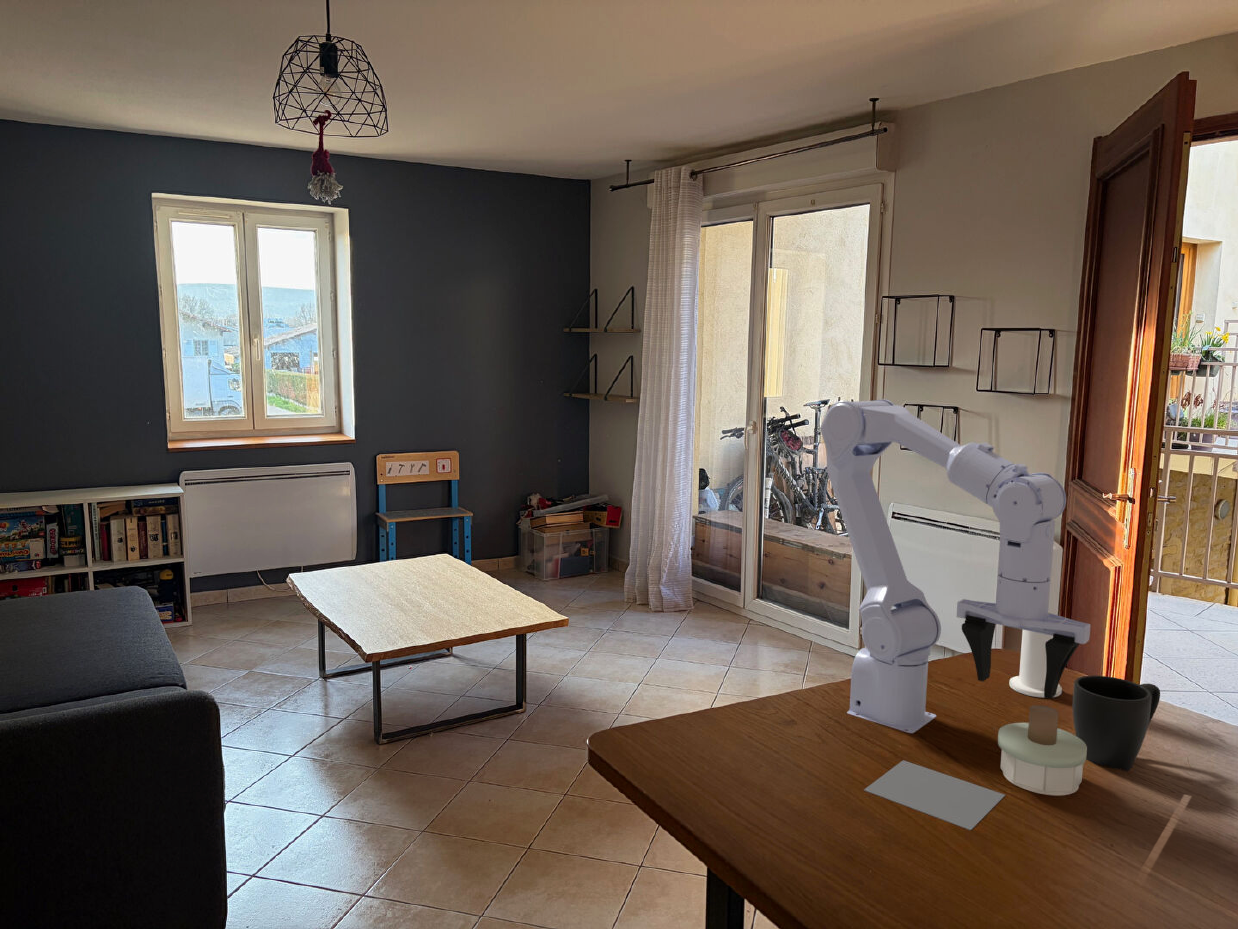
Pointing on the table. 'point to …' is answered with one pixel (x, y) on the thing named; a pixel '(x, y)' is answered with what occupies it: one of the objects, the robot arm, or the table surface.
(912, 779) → the mat
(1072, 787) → the bowl
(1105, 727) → the mug
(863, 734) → the table surface
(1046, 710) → the lid
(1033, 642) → the candle
